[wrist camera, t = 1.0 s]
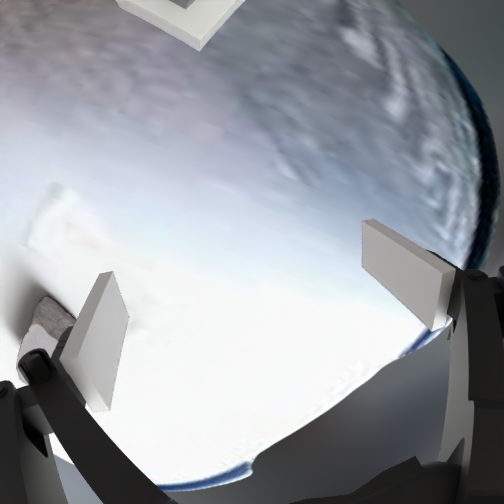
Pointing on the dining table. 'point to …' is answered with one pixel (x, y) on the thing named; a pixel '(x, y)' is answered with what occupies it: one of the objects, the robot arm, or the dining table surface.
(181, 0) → the rocker
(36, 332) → the decorative stone
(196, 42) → the switch console
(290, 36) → the dining table surface
